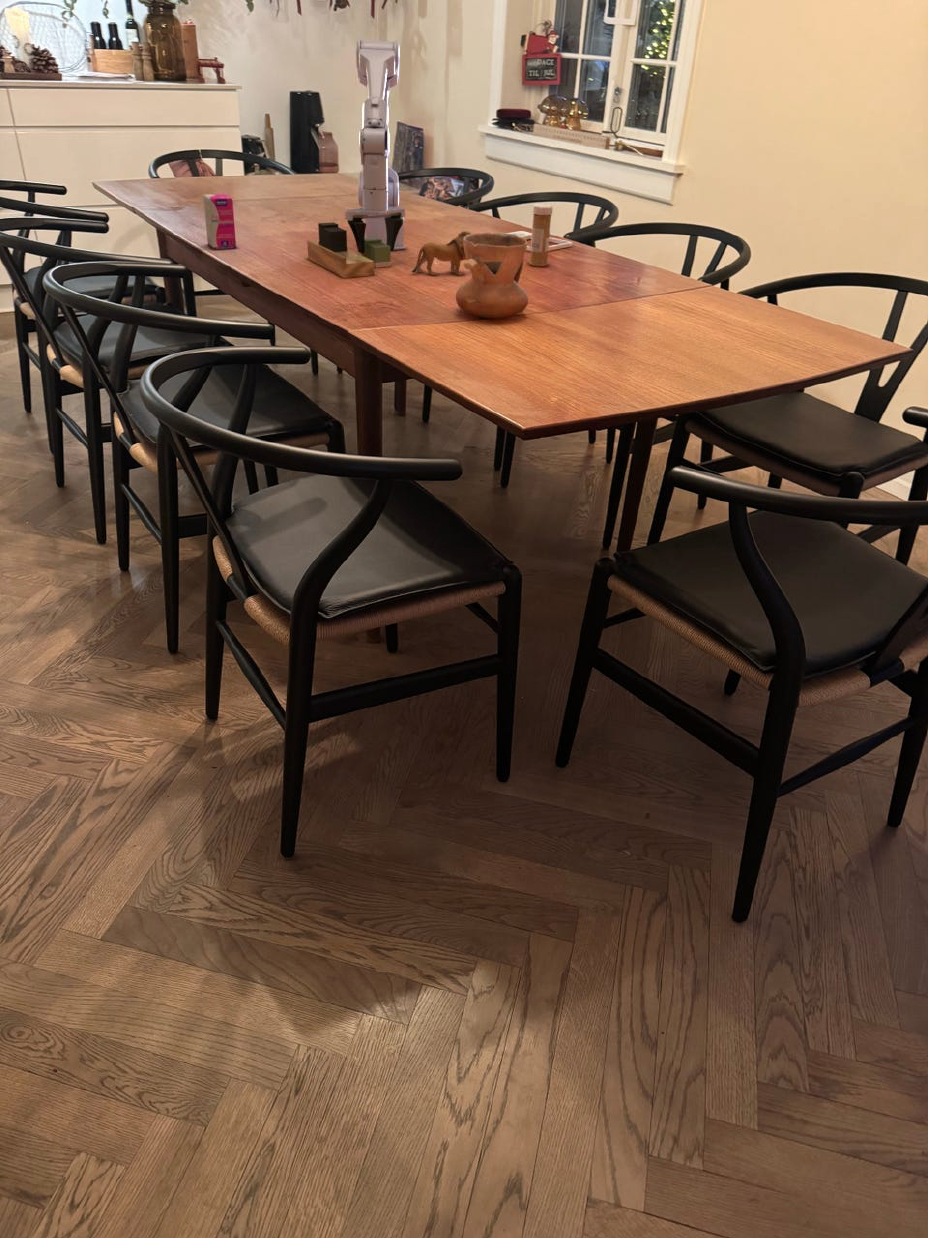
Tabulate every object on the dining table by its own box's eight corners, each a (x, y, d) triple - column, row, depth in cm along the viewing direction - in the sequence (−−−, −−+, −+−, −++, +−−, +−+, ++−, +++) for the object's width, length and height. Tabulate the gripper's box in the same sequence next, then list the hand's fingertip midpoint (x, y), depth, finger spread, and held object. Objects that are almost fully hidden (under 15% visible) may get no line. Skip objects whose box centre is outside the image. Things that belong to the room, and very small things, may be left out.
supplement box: (213, 249, 214) (208, 198, 207) (207, 244, 218) (201, 193, 212) (237, 248, 216) (232, 197, 210) (230, 243, 220) (225, 193, 214)
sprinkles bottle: (551, 265, 215) (556, 205, 207) (536, 267, 213) (541, 206, 205) (539, 261, 218) (545, 202, 211) (524, 263, 216) (529, 203, 208)
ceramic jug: (493, 330, 168) (498, 250, 160) (436, 314, 176) (438, 237, 168) (547, 312, 180) (554, 238, 172) (491, 298, 187) (495, 226, 179)
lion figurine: (468, 269, 208) (470, 228, 203) (476, 274, 204) (478, 233, 199) (408, 271, 204) (408, 230, 199) (415, 277, 200) (416, 234, 195)
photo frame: (521, 229, 244) (573, 241, 234) (521, 234, 245) (572, 245, 235) (485, 236, 235) (538, 248, 225) (485, 240, 236) (537, 252, 226)
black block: (334, 244, 211) (333, 221, 208) (347, 251, 206) (346, 227, 203) (318, 245, 209) (317, 222, 206) (331, 252, 204) (330, 229, 201)
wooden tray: (337, 256, 214) (336, 237, 211) (374, 275, 200) (374, 255, 198) (308, 258, 210) (307, 239, 208) (344, 278, 197) (343, 258, 194)
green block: (376, 259, 213) (376, 237, 210) (390, 266, 208) (390, 243, 205) (361, 260, 211) (361, 238, 208) (375, 267, 206) (375, 244, 203)
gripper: (353, 191, 194) (355, 257, 202) (411, 189, 201) (411, 252, 208) (340, 186, 199) (342, 250, 207) (397, 184, 206) (397, 246, 213)
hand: (375, 251), depth 208 cm, fingers open, 7 cm apart
